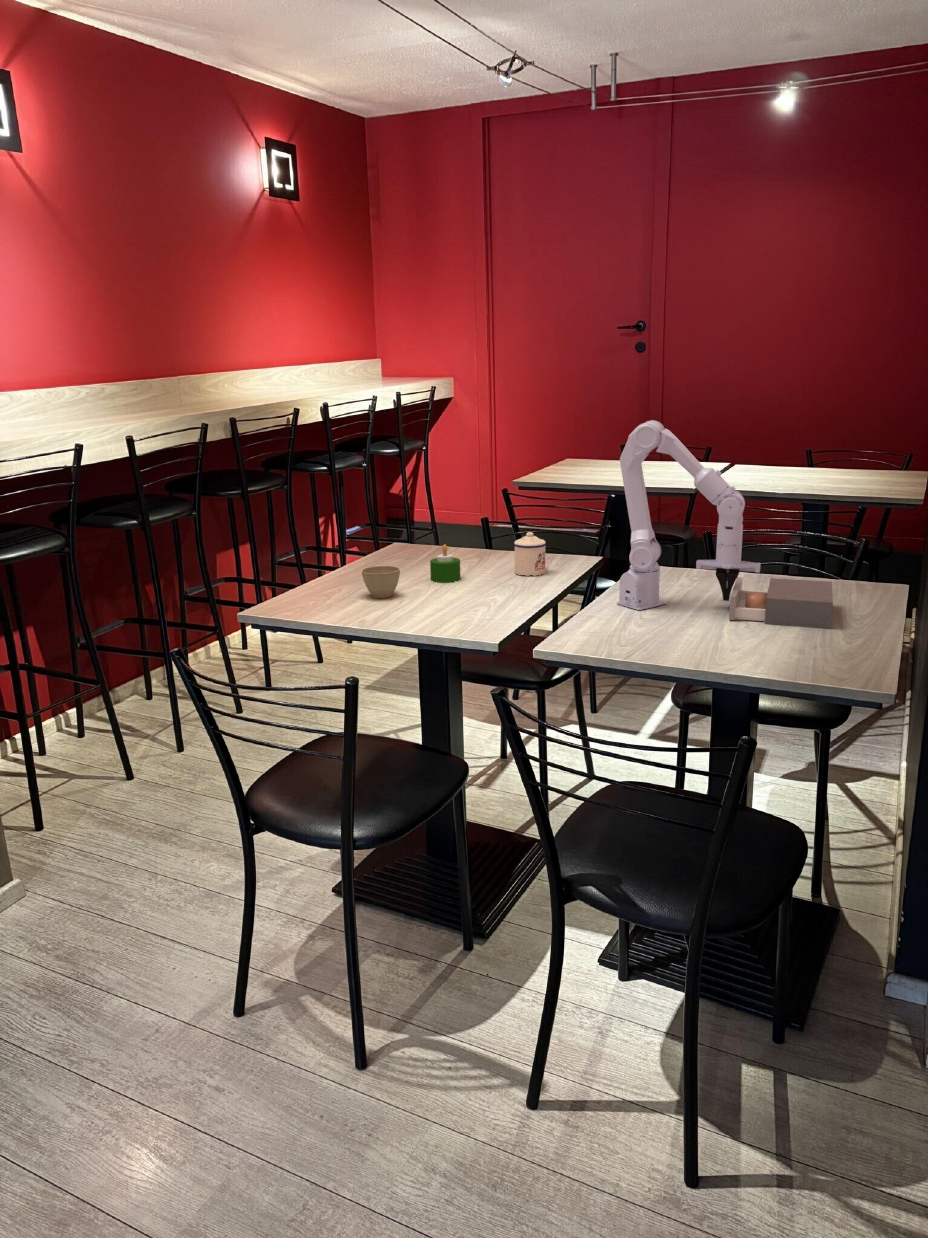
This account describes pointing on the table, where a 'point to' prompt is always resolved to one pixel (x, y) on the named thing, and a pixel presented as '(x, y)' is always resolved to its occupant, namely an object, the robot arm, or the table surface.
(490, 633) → the table surface
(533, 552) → the teacup with lid
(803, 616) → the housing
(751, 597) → the orange rounded part
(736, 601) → the tray
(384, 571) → the bowl
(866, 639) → the table surface
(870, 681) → the table surface
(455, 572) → the candle
